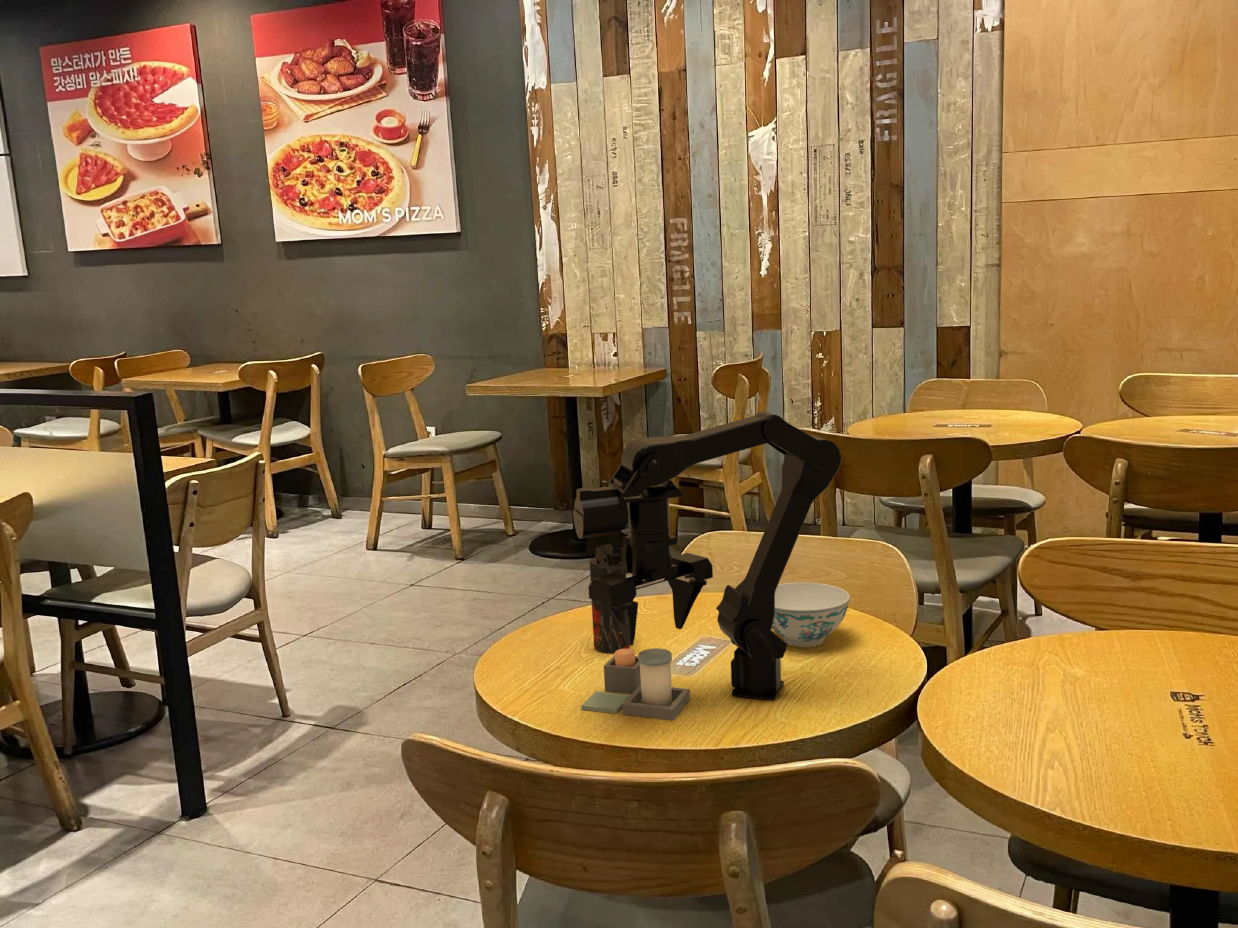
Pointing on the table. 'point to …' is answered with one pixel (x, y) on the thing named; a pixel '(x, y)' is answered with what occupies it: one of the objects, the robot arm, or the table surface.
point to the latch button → (625, 657)
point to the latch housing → (621, 677)
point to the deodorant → (605, 618)
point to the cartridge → (655, 676)
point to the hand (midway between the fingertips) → (654, 636)
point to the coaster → (605, 702)
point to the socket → (656, 711)
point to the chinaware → (808, 612)
